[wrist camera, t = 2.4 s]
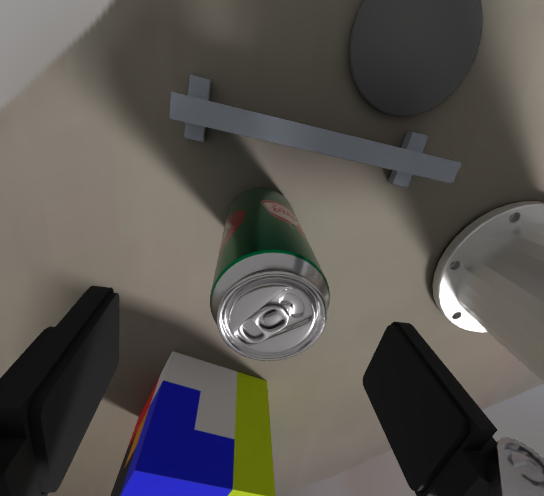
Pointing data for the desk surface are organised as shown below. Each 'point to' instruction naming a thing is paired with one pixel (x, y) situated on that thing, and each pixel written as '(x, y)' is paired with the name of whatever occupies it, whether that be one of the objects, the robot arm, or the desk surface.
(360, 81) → the coaster
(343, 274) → the desk surface
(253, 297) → the soda can
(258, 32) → the desk surface
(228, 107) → the divider
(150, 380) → the desk surface
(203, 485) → the puzzle toy
